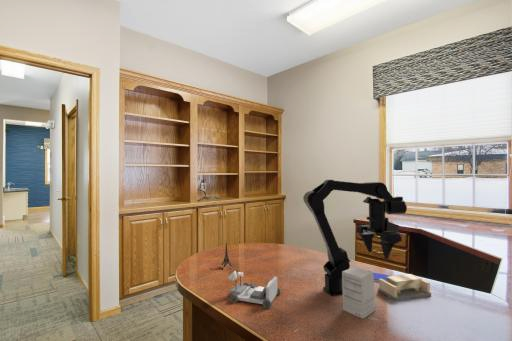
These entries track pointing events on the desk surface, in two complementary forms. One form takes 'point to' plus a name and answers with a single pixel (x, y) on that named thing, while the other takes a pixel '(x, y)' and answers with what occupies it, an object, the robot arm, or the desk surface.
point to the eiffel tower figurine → (226, 258)
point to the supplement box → (358, 291)
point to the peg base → (404, 291)
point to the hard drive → (379, 277)
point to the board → (404, 281)
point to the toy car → (254, 291)
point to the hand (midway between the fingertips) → (377, 255)
